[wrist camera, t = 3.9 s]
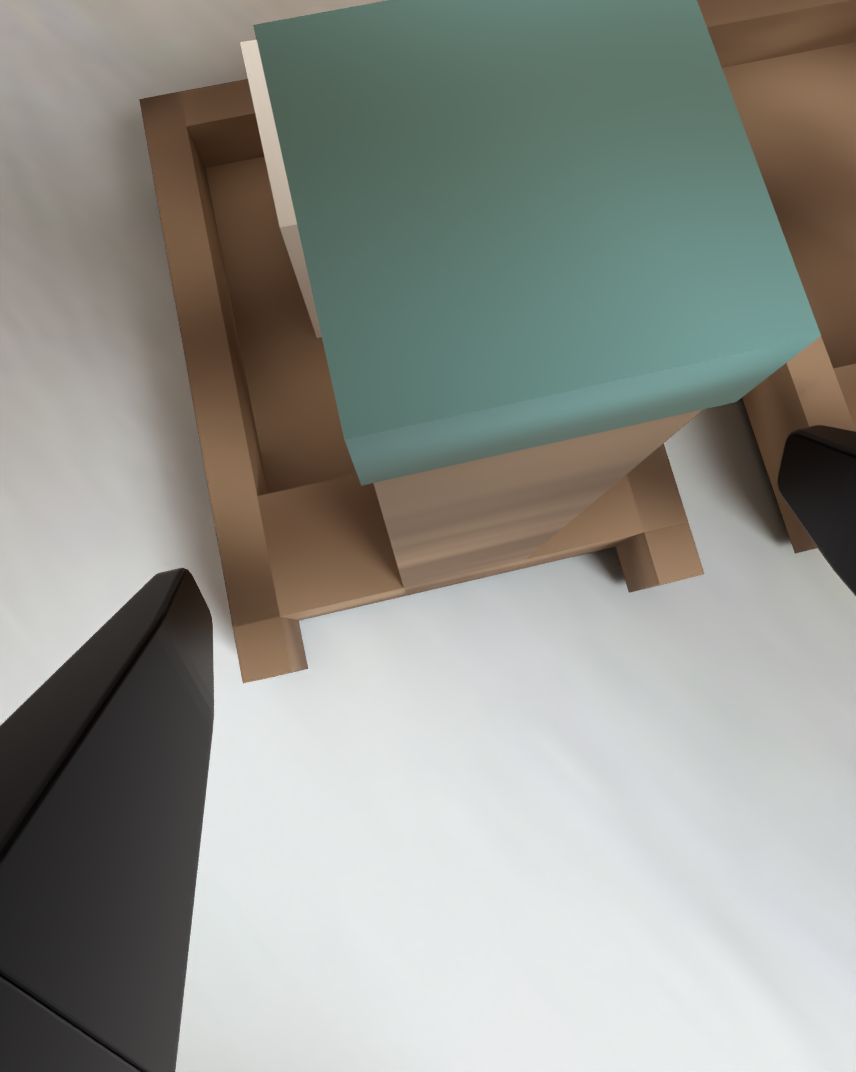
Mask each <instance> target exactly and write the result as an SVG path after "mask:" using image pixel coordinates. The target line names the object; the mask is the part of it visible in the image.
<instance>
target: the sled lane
mask: <svg viewBox="0 0 856 1072" xmlns="http://www.w3.org/2000/svg"><path fill="white" fill-rule="evenodd" d="M253 26H254V30H255V35H256V39H257V44H258V48H259V53H260V57H261V62H262V67H263V71H264V76H265V80H266V85H267V89H268V94H269V98H270V103H271V108H272V112H273V117H274V121H275V126H276V130H277V135H278V139H279V144H280V149H281V153H282V158H283V162H284V167H285V171H286V176H287V180H288V185H289V190H290V194H291V199H292V203H293V208H294V212H295V217H296V221H297V226H298V231H299V235H300V240H301V244H302V249H303V253H304V258H305V262H306V267H307V272H308V276H309V281H310V285H311V290H312V294H313V299H314V303H315V308H316V313H317V317H318V322H319V326H320V331H321V335H322V337H320V338H317V337H316V334H315V331H314V328H313V325H312V322H311V319H310V316H309V313H308V310H307V307H306V304H305V301H304V298H303V295H302V292H301V289H300V286H299V283H298V280H297V277H296V275H295V272H294V269H293V266H292V263H291V260H290V257H289V254H288V251H287V248H286V245H285V242H284V239H283V236H282V233H281V230H280V227H279V222H278V217H277V213H276V208H275V203H274V199H273V194H272V189H271V185H270V180H269V175H268V170H267V166H266V161H265V156H264V152H263V147H262V142H261V138H260V133H259V128H258V124H257V119H256V114H255V110H254V105H253V100H252V96H251V91H250V86H249V82H248V79H246V80H240V81H235V82H230V83H224V84H219V85H214V86H208V87H203V88H198V89H192V90H187V91H182V92H176V93H171V94H166V95H160V96H155V97H149V98H144V99H139V100H140V105H141V111H142V116H143V122H144V128H145V133H146V139H147V145H148V150H149V156H150V162H151V167H152V173H153V179H154V184H155V190H156V196H157V201H158V207H159V212H160V218H161V224H162V229H163V235H164V241H165V246H166V252H167V258H168V263H169V269H170V275H171V280H172V286H173V292H174V297H175V303H176V308H177V314H178V320H179V325H180V331H181V337H182V342H183V348H184V354H185V359H186V365H187V371H188V376H189V382H190V388H191V393H192V399H193V405H194V410H195V416H196V421H197V427H198V433H199V438H200V444H201V450H202V455H203V461H204V467H205V472H206V478H207V484H208V489H209V495H210V501H211V506H212V512H213V517H214V523H215V529H216V534H217V540H218V546H219V551H220V557H221V563H222V568H223V574H224V580H225V585H226V591H227V597H228V602H229V608H230V613H231V619H232V625H233V630H234V636H235V642H236V647H237V653H238V659H239V664H240V670H241V676H242V681H243V683H246V682H251V681H256V680H261V679H266V678H270V677H275V676H279V675H283V674H287V673H292V672H296V671H300V670H304V669H308V666H307V661H306V656H305V651H304V646H303V641H302V635H301V630H300V625H299V620H303V619H308V618H312V617H316V616H321V615H325V614H329V613H333V612H338V611H342V610H346V609H351V608H355V607H359V606H363V605H368V604H372V603H376V602H381V601H385V600H389V599H394V598H398V597H402V596H406V595H411V594H415V593H419V592H424V591H428V590H432V589H437V588H441V587H445V586H449V585H454V584H458V583H462V582H467V581H471V580H475V579H480V578H484V577H488V576H492V575H497V574H501V573H505V572H510V571H514V570H518V569H523V568H527V567H531V566H535V565H540V564H544V563H548V562H553V561H557V560H561V559H566V558H570V557H574V556H578V555H583V554H587V553H591V552H596V551H600V550H604V549H608V548H613V547H616V550H617V553H618V557H619V560H620V564H621V567H622V571H623V574H624V577H625V581H626V584H627V588H628V591H629V592H634V591H638V590H642V589H646V588H650V587H655V586H659V585H663V584H667V583H671V582H675V581H679V580H683V579H687V578H691V577H694V576H698V575H702V574H704V571H703V568H702V565H701V562H700V558H699V555H698V552H697V549H696V546H695V542H694V539H693V536H692V533H691V530H690V526H689V523H688V520H687V517H686V514H685V510H684V507H683V504H682V501H681V498H680V494H679V491H678V488H677V485H676V482H675V478H674V475H673V472H672V469H671V466H670V463H669V459H668V456H667V453H666V450H665V447H664V442H666V441H667V440H668V439H669V438H670V437H671V436H673V435H674V434H675V433H676V432H677V431H679V430H680V429H681V428H682V427H683V426H685V425H686V424H687V423H688V422H689V421H690V420H692V419H693V418H694V417H695V416H696V415H698V414H699V413H700V412H701V411H702V410H704V409H708V408H713V407H717V406H722V405H726V404H730V403H735V402H737V401H738V400H739V399H741V398H742V397H743V396H744V395H746V394H747V393H748V392H750V391H751V390H752V389H753V388H755V387H756V386H757V385H758V384H760V383H761V382H762V381H764V380H765V379H766V378H767V377H769V376H770V375H771V374H773V373H774V372H775V371H776V370H778V369H779V368H780V367H782V366H783V365H784V364H785V363H787V362H788V361H789V360H791V359H792V358H793V357H794V356H796V355H797V354H798V353H800V352H801V351H802V350H803V349H805V348H806V347H807V346H809V345H810V344H811V343H812V342H814V341H815V340H816V339H818V338H819V337H820V336H821V334H820V331H819V329H818V326H817V323H816V320H815V318H814V315H813V312H812V310H811V307H810V304H809V302H808V299H807V296H806V293H805V291H804V288H803V285H802V283H801V280H800V277H799V275H798V272H797V269H796V267H795V264H794V261H793V258H792V256H791V253H790V250H789V248H788V245H787V242H786V240H785V237H784V234H783V231H782V229H781V226H780V223H779V221H778V218H777V215H776V213H775V210H774V207H773V204H772V202H771V199H770V196H769V194H768V191H767V188H766V186H765V183H764V180H763V177H762V175H761V172H760V169H759V167H758V164H757V161H756V159H755V156H754V153H753V150H752V148H751V145H750V142H749V140H748V137H747V134H746V132H745V129H744V126H743V123H742V121H741V118H740V115H739V113H738V110H737V107H736V105H735V102H734V99H733V96H732V94H731V91H730V88H729V86H728V83H727V80H726V78H725V75H724V72H723V70H722V67H721V64H720V61H719V59H718V56H717V53H716V51H715V48H714V45H713V43H712V40H711V37H710V34H709V32H708V29H707V26H706V24H705V21H704V18H703V16H702V13H701V10H700V7H699V5H698V2H697V0H388V1H383V2H377V3H372V4H366V5H361V6H356V7H350V8H345V9H339V10H334V11H328V12H323V13H317V14H312V15H306V16H301V17H295V18H290V19H284V20H279V21H273V22H268V23H262V24H257V25H253Z"/></svg>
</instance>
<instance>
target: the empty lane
mask: <svg viewBox="0 0 856 1072" xmlns="http://www.w3.org/2000/svg"><path fill="white" fill-rule="evenodd" d="M697 2H698V5H699V7H700V10H701V13H702V16H703V18H704V21H705V24H706V26H707V29H708V32H709V34H710V37H711V40H712V43H713V45H714V48H715V51H716V53H717V56H718V59H719V61H720V64H721V67H722V70H723V72H724V75H725V78H726V80H727V83H728V86H729V88H730V91H731V94H732V96H733V99H734V102H735V105H736V107H737V110H738V113H739V115H740V118H741V121H742V123H743V126H744V129H745V132H746V134H747V137H748V140H749V142H750V145H751V148H752V150H753V153H754V156H755V159H756V161H757V164H758V167H759V169H760V172H761V175H762V177H763V180H764V183H765V186H766V188H767V191H768V194H769V196H770V199H771V202H772V204H773V207H774V210H775V213H776V215H777V218H778V221H779V223H780V226H781V229H782V231H783V234H784V237H785V240H786V242H787V245H788V248H789V250H790V253H791V256H792V258H793V261H794V264H795V267H796V269H797V272H798V275H799V277H800V280H801V283H802V285H803V288H804V291H805V293H806V296H807V299H808V302H809V304H810V307H811V310H812V312H813V315H814V318H815V320H816V323H817V326H818V329H819V331H820V334H821V336H820V337H819V338H818V339H816V340H815V341H814V342H812V343H811V344H810V345H809V346H807V347H806V348H805V349H803V350H802V351H801V352H800V353H798V354H797V355H796V356H794V357H793V358H792V359H791V360H789V361H788V362H787V363H785V364H784V365H783V366H782V367H780V368H779V369H778V370H776V371H775V372H774V373H773V374H771V375H770V376H769V377H767V378H766V379H765V380H764V381H762V382H761V383H760V384H758V385H757V386H756V387H755V388H753V389H752V390H751V391H750V392H748V393H747V394H746V395H744V396H743V397H742V399H743V402H744V405H745V408H746V411H747V414H748V417H749V420H750V423H751V426H752V428H753V431H754V434H755V437H756V440H757V443H758V446H759V449H760V452H761V455H762V458H763V461H764V464H765V467H766V470H767V473H768V476H769V478H770V481H771V484H772V487H773V490H774V493H775V496H776V499H777V502H778V505H779V508H780V511H781V514H782V517H783V520H784V523H785V525H786V528H787V531H788V534H789V537H790V540H791V543H792V546H793V549H794V552H795V553H799V552H803V551H807V550H811V549H815V548H817V546H816V545H815V543H814V542H813V540H812V539H811V537H810V536H809V535H808V533H807V532H806V530H805V529H804V527H803V526H802V524H801V523H800V521H799V520H798V519H797V517H796V516H795V514H794V513H793V511H792V510H791V508H790V507H789V506H788V504H787V503H786V501H785V500H784V498H783V497H782V495H781V494H780V491H779V489H778V484H777V477H778V472H779V468H780V463H781V458H782V453H783V449H784V444H785V440H786V438H787V436H788V435H789V433H791V432H792V431H794V430H797V429H801V428H805V427H810V426H814V425H824V426H830V427H835V428H840V429H845V430H851V431H856V0H697Z"/></svg>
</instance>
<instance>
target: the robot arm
mask: <svg viewBox="0 0 856 1072" xmlns="http://www.w3.org/2000/svg"><path fill="white" fill-rule="evenodd" d="M777 484H778V489H779V491H780V494H781V495H782V497H783V498H784V500H785V501H786V503H787V504H788V506H789V507H790V508H791V510H792V511H793V513H794V514H795V516H796V517H797V519H798V520H799V521H800V523H801V524H802V526H803V527H804V529H805V530H806V532H807V533H808V535H809V536H810V537H811V539H812V540H813V542H814V543H815V545H816V546H817V548H818V549H819V550H820V552H821V553H822V555H823V556H824V558H825V559H826V560H827V562H828V563H829V564H830V566H831V567H832V568H833V570H834V571H835V572H836V573H837V575H838V576H839V577H840V578H841V580H842V581H843V582H844V583H845V584H846V585H847V587H848V588H849V589H850V590H851V591H852V592H853V593H854V595H855V596H856V431H851V430H845V429H840V428H835V427H830V426H824V425H814V426H810V427H805V428H801V429H797V430H794V431H792V432H791V433H789V435H788V436H787V438H786V440H785V444H784V449H783V453H782V458H781V463H780V468H779V472H778V477H777ZM213 720H214V676H213V625H212V618H211V614H210V611H209V608H208V606H207V604H206V602H205V600H204V598H203V596H202V594H201V592H200V590H199V588H198V586H197V584H196V582H195V580H194V578H193V576H192V574H191V573H190V572H189V571H188V570H187V569H185V568H179V569H174V570H170V571H165V572H161V573H158V574H156V575H155V576H154V577H153V578H152V579H151V580H150V581H149V582H148V583H146V584H145V585H144V586H143V587H142V588H141V589H140V590H139V591H138V592H137V593H136V594H135V595H134V596H133V597H132V598H131V599H130V600H129V601H128V602H127V603H126V604H125V605H124V606H123V607H122V608H121V609H120V610H119V611H118V612H117V613H116V614H115V615H114V616H113V617H112V618H111V619H110V620H108V621H107V622H106V623H105V624H104V625H103V626H102V627H101V628H100V629H99V630H98V631H97V632H96V633H95V634H94V635H93V636H92V637H91V638H90V639H89V640H88V641H87V642H86V643H85V644H84V645H83V646H82V647H81V648H80V649H79V650H78V651H77V652H76V653H75V654H74V655H72V656H71V657H70V658H69V659H68V660H67V661H66V662H65V663H64V664H63V665H62V666H61V667H60V668H59V669H58V670H57V671H56V672H55V673H54V674H53V675H52V676H51V677H50V678H49V679H48V680H47V681H46V682H45V683H44V684H43V685H42V686H41V687H40V688H39V689H38V690H37V691H35V692H34V693H33V694H32V695H31V696H30V697H29V698H28V699H27V700H26V701H25V702H24V703H23V704H22V705H21V706H20V707H19V708H18V709H17V710H16V711H15V712H14V713H13V714H12V715H11V716H10V717H9V718H8V719H7V720H6V721H5V722H4V723H3V724H2V725H1V726H0V1072H175V1069H176V1060H177V1051H178V1042H179V1033H180V1024H181V1015H182V1005H183V996H184V987H185V978H186V969H187V960H188V951H189V942H190V933H191V923H192V914H193V905H194V896H195V887H196V878H197V869H198V860H199V851H200V842H201V832H202V823H203V814H204V805H205V796H206V787H207V778H208V769H209V760H210V750H211V741H212V732H213Z"/></svg>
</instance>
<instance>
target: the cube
mask: <svg viewBox="0 0 856 1072" xmlns="http://www.w3.org/2000/svg"><path fill="white" fill-rule="evenodd" d="M240 44H241V49H242V54H243V58H244V63H245V68H246V72H247V77H248V82H249V86H250V91H251V96H252V100H253V105H254V110H255V114H256V119H257V124H258V128H259V133H260V138H261V142H262V147H263V152H264V156H265V161H266V166H267V170H268V175H269V180H270V185H271V189H272V194H273V199H274V203H275V208H276V213H277V217H278V222H279V227H280V230H281V233H282V236H283V239H284V242H285V245H286V248H287V251H288V254H289V257H290V260H291V263H292V266H293V269H294V272H295V275H296V277H297V280H298V283H299V286H300V289H301V292H302V295H303V298H304V301H305V304H306V307H307V310H308V313H309V316H310V319H311V322H312V325H313V328H314V331H315V334H316V337H317V338H320V337H322V335H321V331H320V326H319V322H318V317H317V313H316V308H315V303H314V299H313V294H312V290H311V285H310V281H309V276H308V272H307V267H306V262H305V258H304V253H303V249H302V244H301V240H300V235H299V231H298V226H297V221H296V217H295V212H294V208H293V203H292V199H291V194H290V190H289V185H288V180H287V176H286V171H285V167H284V162H283V158H282V153H281V149H280V144H279V139H278V135H277V130H276V126H275V121H274V117H273V112H272V108H271V103H270V98H269V94H268V89H267V85H266V80H265V76H264V71H263V67H262V62H261V57H260V53H259V48H258V44H257V39H256V40H251V41H245V42H240Z"/></svg>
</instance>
